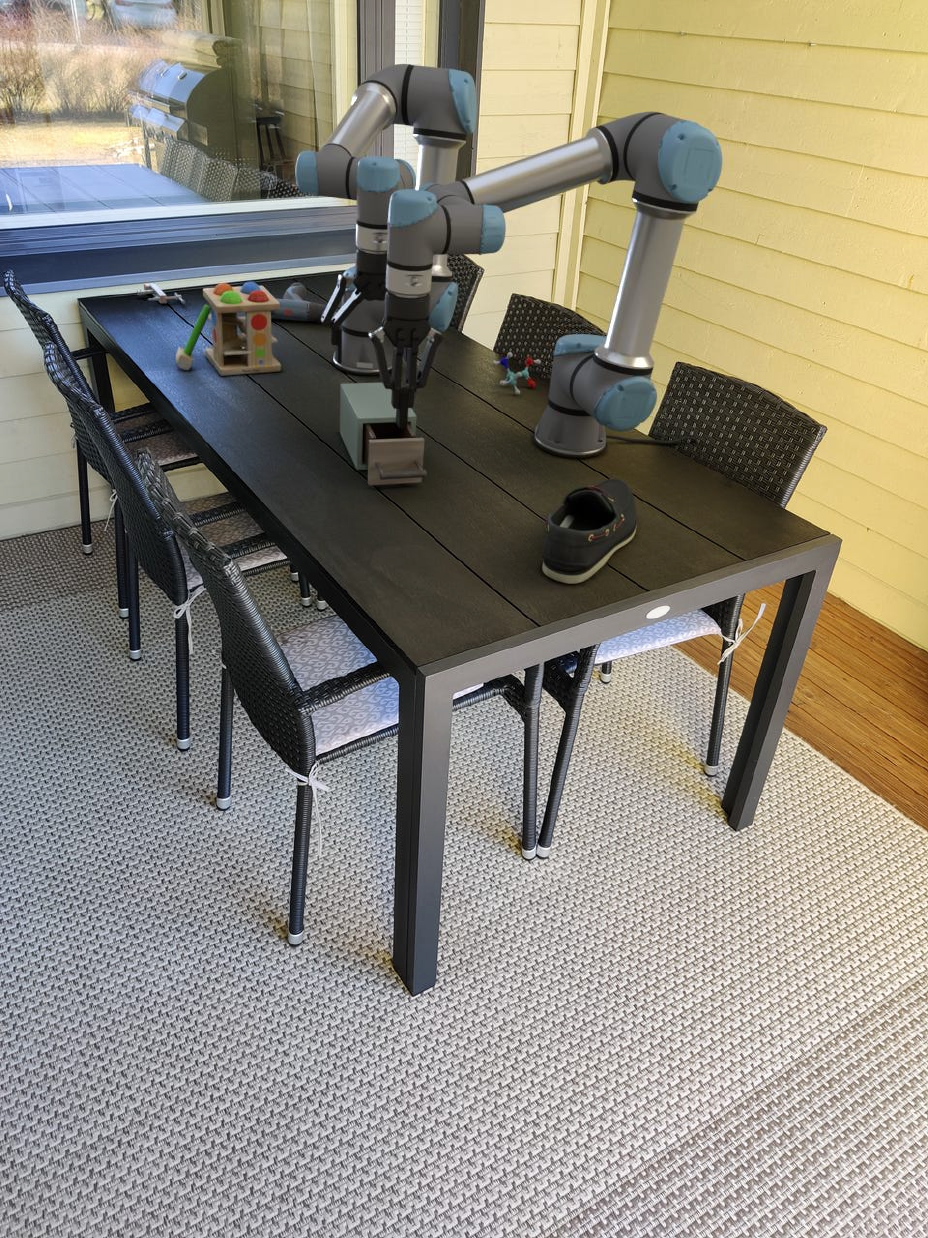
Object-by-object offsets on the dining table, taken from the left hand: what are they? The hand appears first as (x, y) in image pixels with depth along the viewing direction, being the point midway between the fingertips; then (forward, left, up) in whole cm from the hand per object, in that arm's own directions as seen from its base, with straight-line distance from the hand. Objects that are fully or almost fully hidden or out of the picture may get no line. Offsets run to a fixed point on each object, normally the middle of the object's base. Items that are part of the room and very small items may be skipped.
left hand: (372, 360), depth 194 cm
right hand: (+11, +22, -3) cm, 25 cm away
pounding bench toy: (+3, -51, -17) cm, 53 cm away
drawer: (+8, +16, -16) cm, 24 cm away
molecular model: (-47, -5, -17) cm, 50 cm away
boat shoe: (-6, +55, -17) cm, 58 cm away
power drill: (-36, -74, -17) cm, 84 cm away
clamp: (-8, -102, -17) cm, 103 cm away
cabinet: (+2, +5, -17) cm, 18 cm away
